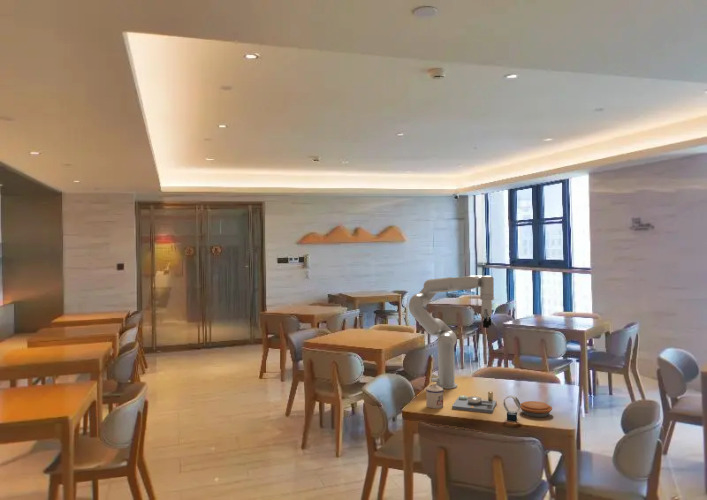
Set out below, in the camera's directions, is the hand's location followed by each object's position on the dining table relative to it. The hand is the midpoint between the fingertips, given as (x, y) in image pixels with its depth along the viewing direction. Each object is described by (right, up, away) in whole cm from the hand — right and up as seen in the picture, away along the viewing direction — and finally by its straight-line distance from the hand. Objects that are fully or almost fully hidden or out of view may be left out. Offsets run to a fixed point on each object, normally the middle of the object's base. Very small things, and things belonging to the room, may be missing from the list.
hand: (487, 326), depth 304 cm
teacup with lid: (-35, -37, -30) cm, 59 cm away
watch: (-2, -37, -53) cm, 65 cm away
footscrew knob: (-12, -35, -33) cm, 49 cm away
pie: (+12, -37, -45) cm, 59 cm away
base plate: (-15, -37, -32) cm, 51 cm away
